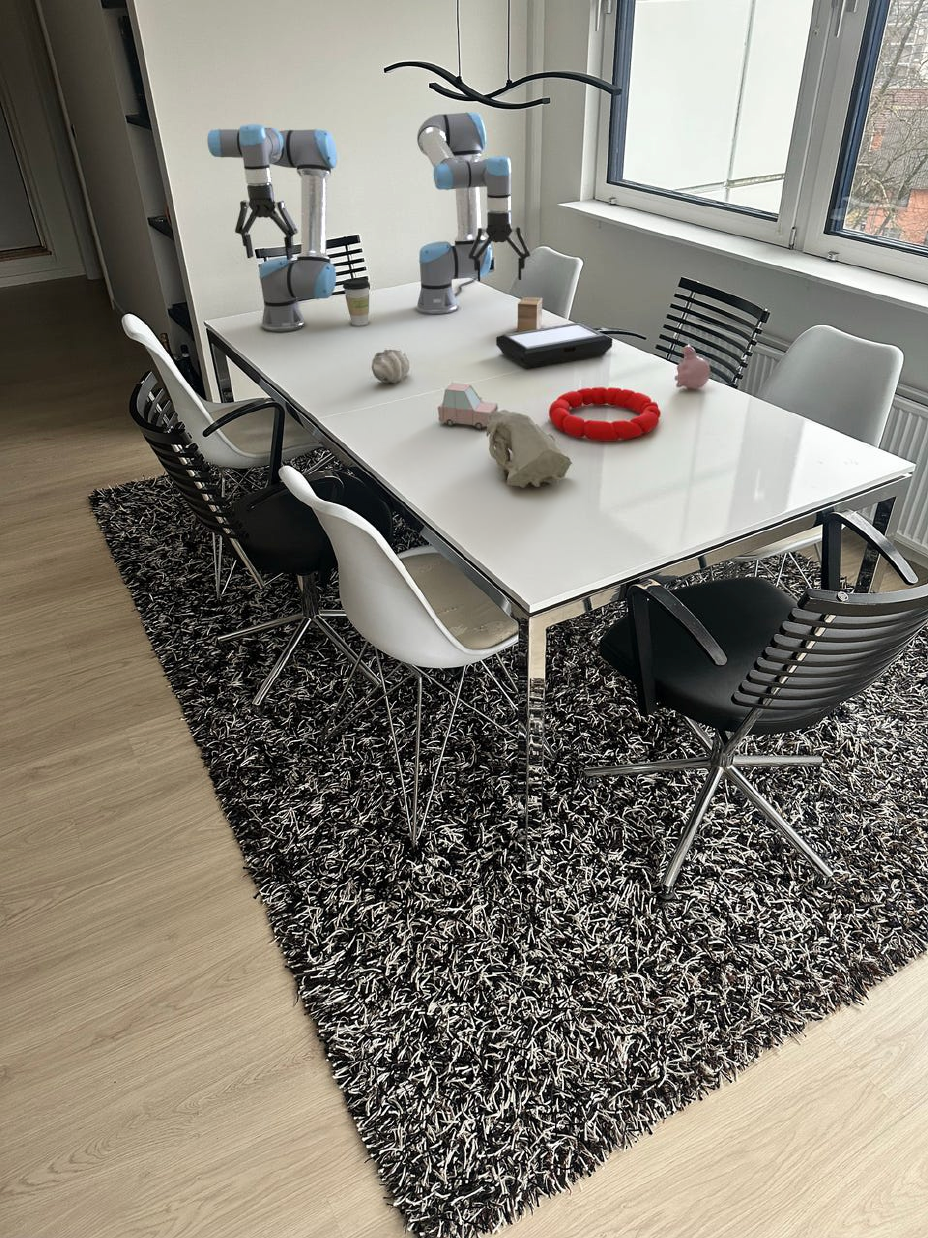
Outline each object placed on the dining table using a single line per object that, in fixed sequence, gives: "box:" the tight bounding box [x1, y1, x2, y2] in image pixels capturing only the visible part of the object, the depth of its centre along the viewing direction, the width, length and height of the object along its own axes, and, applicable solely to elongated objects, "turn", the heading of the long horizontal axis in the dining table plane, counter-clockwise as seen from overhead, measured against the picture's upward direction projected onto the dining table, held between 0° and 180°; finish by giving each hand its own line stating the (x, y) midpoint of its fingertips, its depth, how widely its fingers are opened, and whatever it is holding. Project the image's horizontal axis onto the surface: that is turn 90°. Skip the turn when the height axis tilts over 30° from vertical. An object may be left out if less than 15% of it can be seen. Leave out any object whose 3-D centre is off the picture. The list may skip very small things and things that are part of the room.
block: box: [517, 296, 543, 333], centre depth 313 cm, size 9×7×10 cm
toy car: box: [437, 382, 499, 431], centre depth 243 cm, size 9×15×10 cm, turn 70°
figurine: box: [674, 344, 711, 390], centre depth 259 cm, size 9×11×12 cm
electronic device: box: [495, 322, 613, 370], centre depth 290 cm, size 32×6×20 cm
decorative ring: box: [548, 386, 661, 442], centre depth 242 cm, size 7×30×30 cm
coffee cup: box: [342, 277, 371, 327], centre depth 323 cm, size 10×10×15 cm
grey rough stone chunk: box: [485, 409, 573, 489], centre depth 216 cm, size 17×25×20 cm
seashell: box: [371, 349, 411, 384], centre depth 271 cm, size 10×15×10 cm
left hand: (270, 258), depth 279 cm, fingers open, 13 cm apart
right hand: (499, 279), depth 298 cm, fingers open, 13 cm apart
